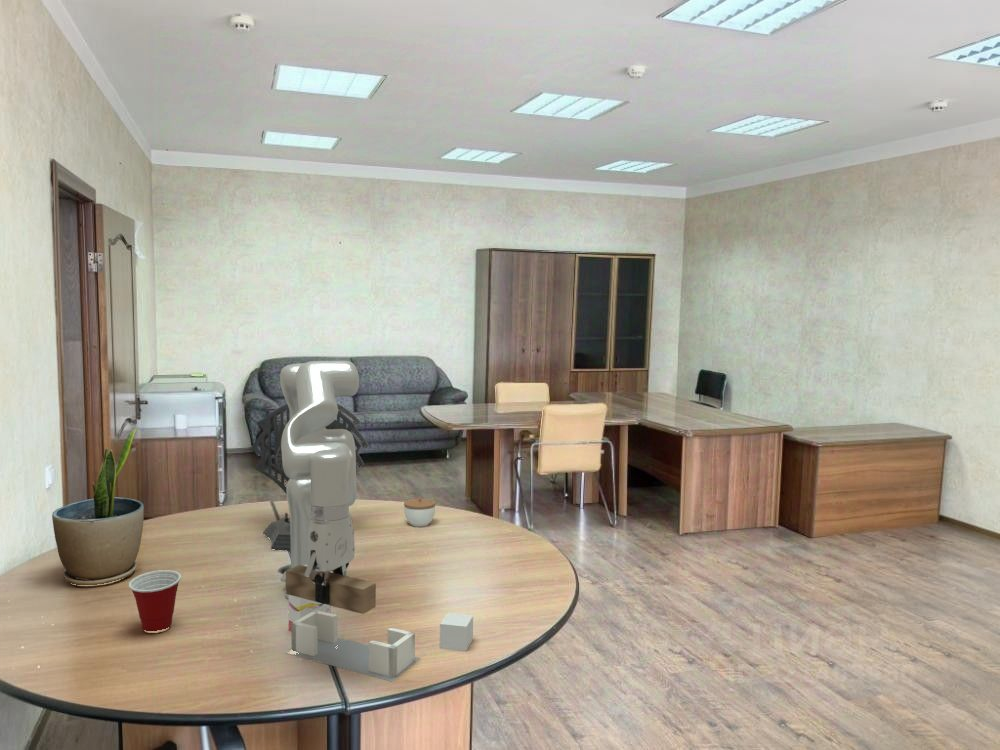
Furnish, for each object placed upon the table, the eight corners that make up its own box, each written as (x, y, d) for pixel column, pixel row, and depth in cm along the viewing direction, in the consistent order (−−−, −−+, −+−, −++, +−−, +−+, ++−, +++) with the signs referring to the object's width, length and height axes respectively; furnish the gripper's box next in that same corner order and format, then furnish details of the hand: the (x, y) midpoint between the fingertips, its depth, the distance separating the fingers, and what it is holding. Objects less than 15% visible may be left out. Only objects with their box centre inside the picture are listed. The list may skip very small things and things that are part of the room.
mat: (285, 654, 158) (285, 652, 158) (318, 634, 168) (318, 632, 168) (391, 683, 147) (391, 681, 147) (420, 659, 157) (420, 658, 157)
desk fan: (330, 514, 265) (330, 389, 261) (382, 536, 241) (382, 398, 237) (239, 532, 243) (236, 395, 238) (286, 558, 218) (285, 407, 214)
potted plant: (99, 597, 188) (94, 441, 184) (36, 585, 195) (29, 434, 191) (162, 569, 208) (158, 428, 204) (102, 560, 215) (98, 423, 211)
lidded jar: (424, 518, 263) (424, 492, 262) (441, 525, 254) (441, 498, 253) (398, 523, 256) (398, 496, 255) (415, 530, 247) (415, 503, 247)
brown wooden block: (285, 593, 155) (285, 570, 154) (299, 587, 158) (299, 564, 158) (363, 614, 146) (363, 589, 145) (375, 606, 149) (375, 582, 149)
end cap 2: (414, 660, 156) (414, 633, 155) (393, 677, 149) (393, 648, 148) (390, 654, 158) (390, 627, 158) (368, 670, 151) (368, 642, 151)
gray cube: (439, 650, 162) (439, 623, 161) (447, 638, 168) (447, 612, 167) (466, 653, 161) (466, 626, 160) (473, 641, 166) (473, 615, 166)
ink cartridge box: (301, 638, 166) (300, 574, 165) (288, 632, 170) (287, 569, 168) (332, 626, 173) (331, 564, 172) (318, 620, 176) (318, 559, 175)
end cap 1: (291, 650, 160) (291, 623, 159) (315, 635, 167) (315, 609, 166) (313, 656, 157) (313, 628, 157) (337, 641, 164) (337, 615, 164)
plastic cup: (119, 637, 165) (117, 585, 164) (148, 617, 176) (147, 568, 175) (164, 641, 164) (163, 588, 163) (191, 621, 174) (190, 571, 173)
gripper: (316, 524, 141) (317, 617, 143) (369, 504, 156) (369, 588, 158) (286, 519, 144) (287, 609, 146) (341, 499, 159) (341, 581, 161)
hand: (330, 597), depth 152 cm, fingers closed on brown wooden block, 4 cm apart
